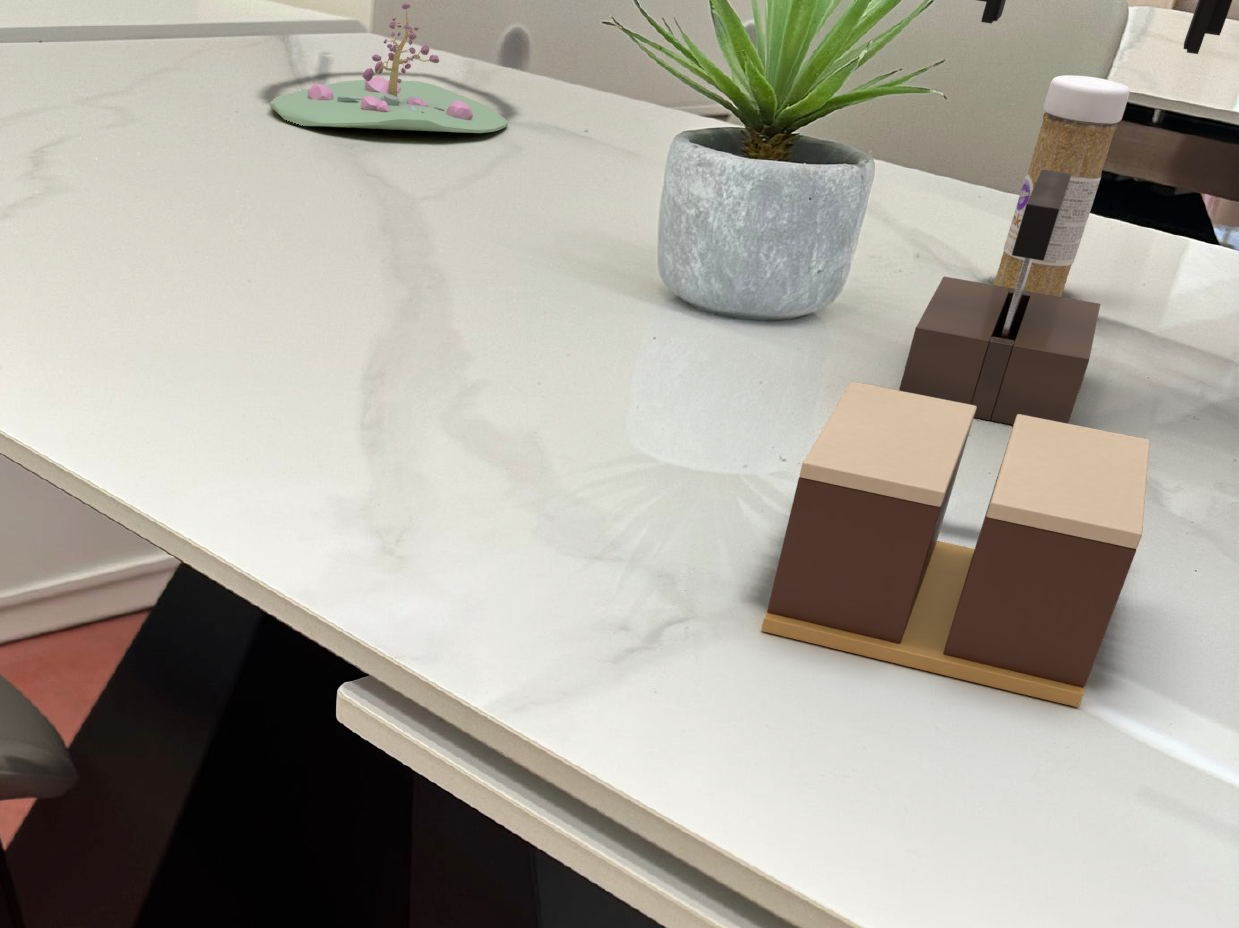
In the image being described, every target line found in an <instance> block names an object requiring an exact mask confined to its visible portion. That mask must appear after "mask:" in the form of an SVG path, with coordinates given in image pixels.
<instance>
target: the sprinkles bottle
mask: <svg viewBox="0 0 1239 928" xmlns="http://www.w3.org/2000/svg"><path fill="white" fill-rule="evenodd" d="M1130 93H1131V91H1130V88H1129V87H1128V86H1127V85H1125V84H1124V83H1121V82H1118V81H1115V80H1114V81H1113V80H1110V79H1106V78H1100V77H1094V76H1086V75H1069V74H1068V75H1059V76H1058V75H1057V76H1055V77H1053V78H1052V80H1051V81H1050V84H1049V87H1048V90H1047V93H1046V97H1045V100H1044V103H1043V107H1042V109H1043V112H1044V113H1043V115H1042V123H1041V126H1040V129H1039V133H1038V136H1037V140H1036V143H1035V146H1034V149H1033V153H1032V157H1031V159H1030V163H1029V166H1028V171H1027V174H1026V175H1025V177H1024V179H1023V183H1022V187H1021V189H1020V193H1019V196H1018V199H1017V203H1016V207H1015V210H1014V213H1013V216H1012V219H1011V223H1010V226H1009V229H1008V232H1007V235H1006V238H1005V243H1004V246H1003V253H1002V256H1001V259H1000V263H999V265H998V268H997V272H996V275H995V279H994V281H993V285H996V286H1002V287H1008V288H1013V289H1015V288H1016V285H1017V281H1018V278H1019V275H1020V271H1021V268H1022V265H1023V261H1024V258H1023V257H1018V256H1013V255H1012V251H1013V248H1014V245H1015V241H1016V238H1017V235H1018V231H1019V228H1020V224H1021V221H1022V218H1023V214H1024V211H1025V207H1026V204H1027V202H1028V200H1029V197H1030V195H1031V193H1032V191H1033V188H1034V186H1035V184H1036V181H1037V179H1038V177H1039V174H1040V172H1041V170H1049V171H1056V172H1062V173H1069V174H1071V178H1070V181H1069V185H1068V188H1067V191H1066V194H1065V198H1064V201H1063V204H1062V207H1061V211H1060V214H1059V217H1058V220H1057V223H1056V226H1055V229H1054V232H1053V235H1052V238H1051V241H1050V244H1049V247H1048V250H1047V253H1046V255H1045V258H1044V260H1043V261H1041V260H1035V259H1033V261H1032V264H1031V267H1030V270H1029V274H1028V277H1027V280H1026V284H1025V287H1024V290H1025V291H1031V293H1032V292H1036V293H1042V294H1047V295H1053V296H1059V297H1063V296H1062V295H1063V294H1064V290H1065V286H1066V284H1067V281H1068V277H1069V276H1070V275H1069V274H1070V271H1071V269H1072V266H1073V264H1074V262H1075V259H1076V256H1077V253H1078V252H1079V251H1078V250H1079V248H1080V244H1081V241H1082V238H1083V236H1084V232H1085V229H1086V226H1087V222H1088V220H1089V216H1090V213H1091V210H1092V207H1093V204H1094V201H1095V198H1096V194H1097V191H1098V189H1099V185H1100V182H1101V180H1102V179H1101V178H1102V172H1103V169H1104V166H1105V162H1106V160H1107V157H1108V153H1109V150H1110V147H1111V143H1112V139H1113V137H1114V133H1115V131H1116V130H1117V128H1118V123H1119V122H1121V121H1122V120H1123V116H1124V113H1125V111H1126V106H1127V103H1128V99H1129V96H1130Z"/></svg>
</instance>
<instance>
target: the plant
mask: <svg viewBox="0 0 1239 928" xmlns="http://www.w3.org/2000/svg"><path fill="white" fill-rule="evenodd" d="M409 8H411V4H409V3H407V2H405V3H403V4H402V5H401V9H403V10H405V11H406V12H405V21H406V22H405V23H406V24H405V25H404V24H403V23H401V22H397V23H396V19H397V18H396V17H393V18H392V21H391V22H390V23H389V24H388V27H389V28H390V29H392V30H395V28H396V27H397V28H400V29H401V28H402V29H403V30H405V33H404V36H403V38H402V40H401V42H400V43H398V42H397V41H396V40H397V38H395V39H391V40H388V39H387V38H385V39H384V40H383V44H387V42H388V44H387V45H386V47H387V49H388V50H389V52H388V53H387V56H388V59H387V60H386V61H385V62H383V61H382V56H381V55H379V54H377V53H375V54H374V55H372V56H371V59H372V61H373V62H377V63H376V64H375V66H374V69H373V68H372V67H369V68H366V69H365V71H364V72H363V73H362V78H363V79H356V80H346V81H338V82H334V83H329V84H328V83H327V84H321V83H314V84H312V86H311V87H309V88H308V89H307V88H306V89H303V90H298V91H294V92H290V93H285V94H281V95H277V96H276V97H275V98H273V99H272V100H271V101H270V102H269V106H270V107H271V108H272V109H273V110H274V111H275V112H276V113H277V114H278V115H279V116H280V117H281V118H282V119H283V120H285V121H286V120H287V121H286V122H288V121H290V122H293V123H292V124H294V123H296V124H295V125H297V124H299V125H298V126H302V125H303V126H304V127H324V128H325V127H326V128H329V127H330V128H346V129H348V128H349V129H369V130H392V131H393V130H395V131H396V130H397V131H419V132H443V133H471V134H484V133H493V132H494V133H495V132H497V131H500V130H502V129H505V128H506V127H507V126H508V123H509V121H508V120H507V118H505V117H504V116H503V115H502V114H500V113H498V112H497V111H496V110H494V109H492V108H491V107H489V106H488V105H486V104H484V103H482V102H479V101H477V100H475V99H472V98H469V97H467V96H464V95H462V94H459V93H457V92H454V91H451V90H449V89H446V88H444V87H441V86H439V85H436V84H433V83H429V82H424V81H418V80H402V79H401V78H399V67H400V65H402V66H403V67H402V68H401V69H400V72H401V73H402V74H403V75H404V74H406V72H407V71H406V70H409V69H411V68H412V65H411V63H410V62H413V61H414V60H419V61H420V62H423V63H424V62H425V63H426V62H430V63H433V64H439V62H440V58H439V56H438V55H437V54H431V55H430V56H429V58H428V59H425V60H424V59H423V58H422V59H421V56H420V54H422V55H423V56H427V55H429V53H430V47H429V45H428V44H424V45H422V46H421V48H420V50H419V52H418V53H417V54H415V53H416V48H414V47H409V49H405V50H403V49H404V47H405V45H406V43H407V41H408V44H409V46H411V45H412V44H414V43H413V41H414V40H416V38H417V34H416V33H415V32H416V31H419V29H420V27H418V26H414V27H412V26H411V25H409V18H408V17H409V16H408V10H407V9H409ZM395 35H396V33H395V32H394V31H392V32H391V34H390V36H391V38H394V36H395ZM400 36H401V32H398V33H397V37H400ZM408 39H409V40H408ZM403 53H410V54H411V55H412V56H410V57H409V56H406V58H404V59H403V58H401V54H403ZM389 61H391V62H392V64H391V67H390V68H389V67H388V64H389ZM384 63H386V64H385V65H384ZM404 64H405V65H404ZM384 70H385V71H386V72H390V76H389V80H388V79H386V78H384V77H382V76H375V75H379V74H380V75H381V74H382V73H383V71H384ZM290 122H289V123H290ZM303 126H302V127H303Z"/></svg>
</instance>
